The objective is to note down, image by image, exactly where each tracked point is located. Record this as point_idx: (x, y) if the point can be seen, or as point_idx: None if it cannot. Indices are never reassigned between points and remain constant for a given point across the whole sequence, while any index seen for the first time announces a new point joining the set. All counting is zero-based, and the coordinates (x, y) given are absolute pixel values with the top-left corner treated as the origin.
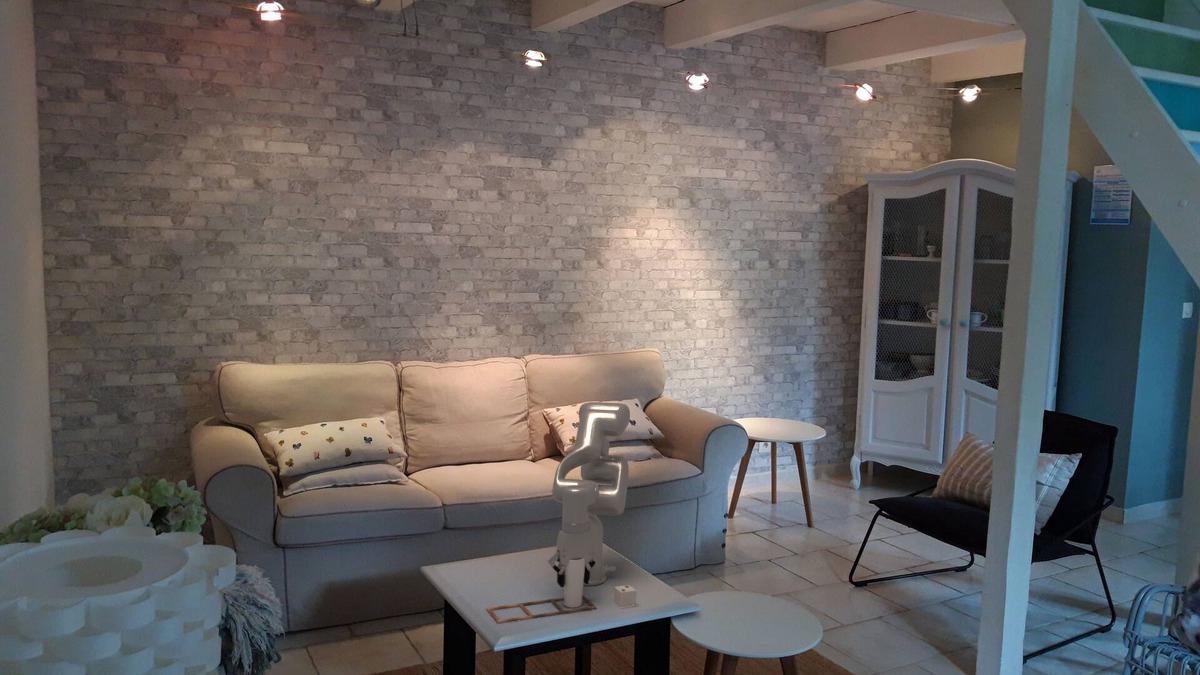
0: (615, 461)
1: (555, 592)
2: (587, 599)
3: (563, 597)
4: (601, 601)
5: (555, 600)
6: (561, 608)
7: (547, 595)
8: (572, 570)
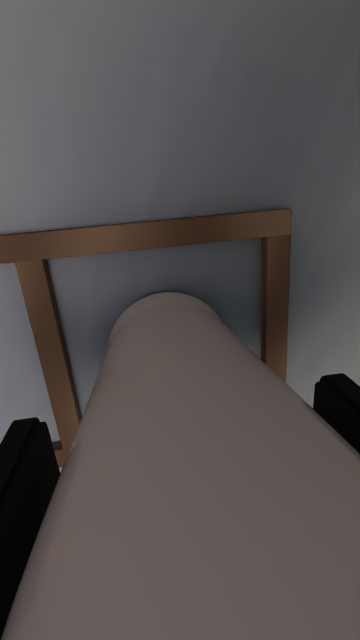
0: None
1: (104, 26)
2: (284, 308)
3: (132, 226)
4: (357, 324)
5: (59, 255)
6: (70, 416)
7: (15, 85)
8: None
